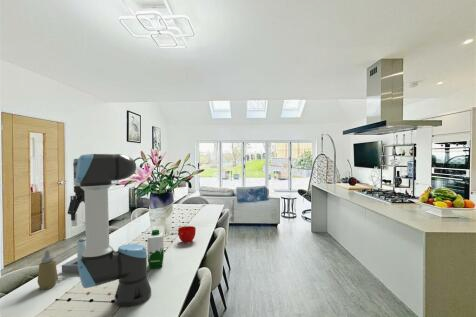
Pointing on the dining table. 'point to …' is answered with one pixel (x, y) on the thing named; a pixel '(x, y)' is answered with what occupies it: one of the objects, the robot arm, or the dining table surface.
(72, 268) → the housing
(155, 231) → the milk carton
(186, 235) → the ceramic cup
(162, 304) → the dining table surface
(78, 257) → the cartridge
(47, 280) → the squeeze bottle
